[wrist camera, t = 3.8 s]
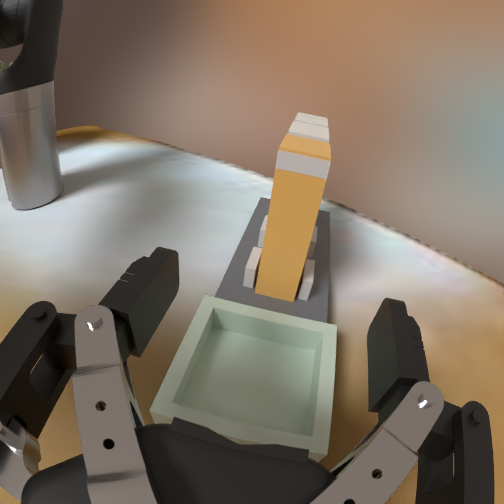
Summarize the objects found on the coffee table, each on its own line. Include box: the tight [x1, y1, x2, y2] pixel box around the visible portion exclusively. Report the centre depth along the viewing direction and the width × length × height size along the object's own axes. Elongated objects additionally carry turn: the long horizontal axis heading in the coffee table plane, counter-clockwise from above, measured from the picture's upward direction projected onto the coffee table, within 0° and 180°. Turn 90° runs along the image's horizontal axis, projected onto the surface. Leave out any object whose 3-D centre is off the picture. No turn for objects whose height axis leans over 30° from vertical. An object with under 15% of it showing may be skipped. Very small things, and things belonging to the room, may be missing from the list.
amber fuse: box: [255, 134, 331, 302], centre depth 23 cm, size 3×4×12 cm
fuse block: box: [215, 197, 330, 323], centre depth 31 cm, size 9×19×4 cm, turn 168°
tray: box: [149, 295, 337, 462], centre depth 19 cm, size 10×10×3 cm
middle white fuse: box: [288, 121, 329, 143], centre depth 27 cm, size 3×4×12 cm
